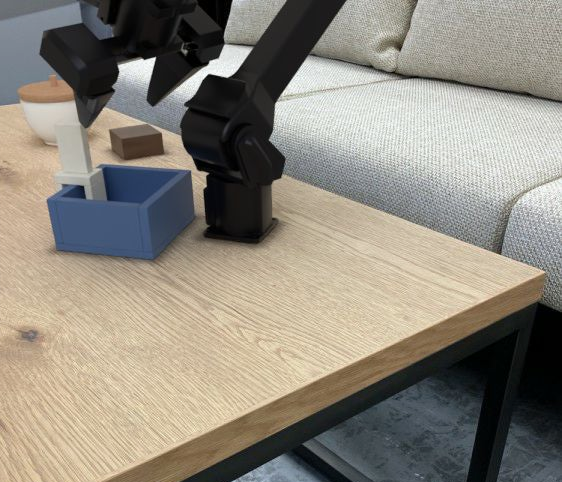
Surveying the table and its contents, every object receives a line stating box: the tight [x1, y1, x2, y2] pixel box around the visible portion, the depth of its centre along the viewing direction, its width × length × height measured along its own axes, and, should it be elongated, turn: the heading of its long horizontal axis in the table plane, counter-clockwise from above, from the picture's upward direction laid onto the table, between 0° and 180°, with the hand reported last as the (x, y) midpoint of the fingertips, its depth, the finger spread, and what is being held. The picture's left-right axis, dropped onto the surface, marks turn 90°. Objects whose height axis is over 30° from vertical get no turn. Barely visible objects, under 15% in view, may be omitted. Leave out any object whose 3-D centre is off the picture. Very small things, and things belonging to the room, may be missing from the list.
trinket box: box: [17, 74, 93, 147], centre depth 106 cm, size 11×11×9 cm
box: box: [46, 163, 196, 261], centre depth 75 cm, size 11×12×6 cm
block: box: [108, 123, 165, 161], centre depth 102 cm, size 6×6×3 cm
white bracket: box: [53, 121, 107, 201], centre depth 74 cm, size 4×3×10 cm
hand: (118, 114), depth 72 cm, fingers open, 9 cm apart
